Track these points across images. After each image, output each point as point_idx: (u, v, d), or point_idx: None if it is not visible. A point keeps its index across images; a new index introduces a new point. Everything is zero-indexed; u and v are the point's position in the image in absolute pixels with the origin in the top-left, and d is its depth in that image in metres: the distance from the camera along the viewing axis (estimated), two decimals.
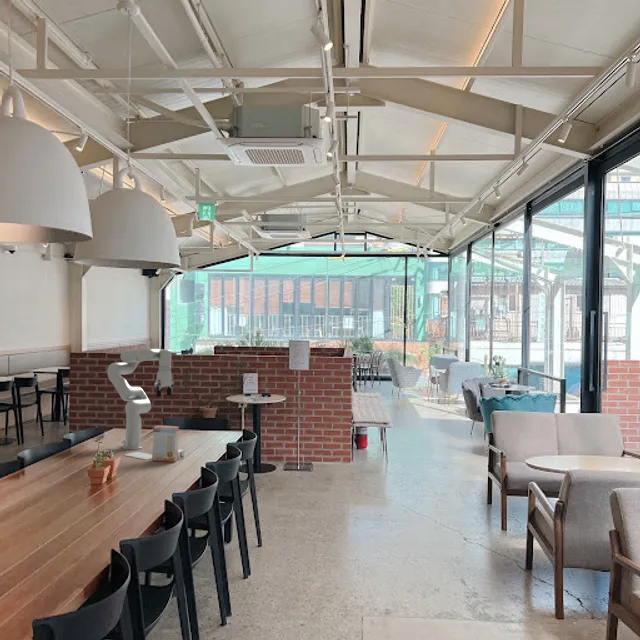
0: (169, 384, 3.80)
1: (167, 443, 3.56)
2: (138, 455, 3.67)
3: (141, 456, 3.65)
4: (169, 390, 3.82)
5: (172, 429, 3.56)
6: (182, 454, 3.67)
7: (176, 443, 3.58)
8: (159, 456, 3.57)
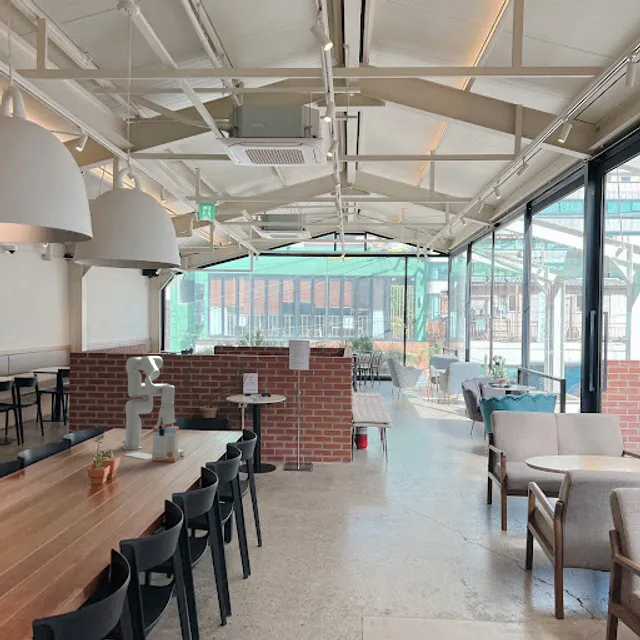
0: (172, 421, 3.61)
1: (167, 443, 3.56)
2: (138, 455, 3.67)
3: (141, 456, 3.65)
4: None
5: (172, 429, 3.56)
6: (182, 454, 3.67)
7: (176, 443, 3.58)
8: (159, 456, 3.57)
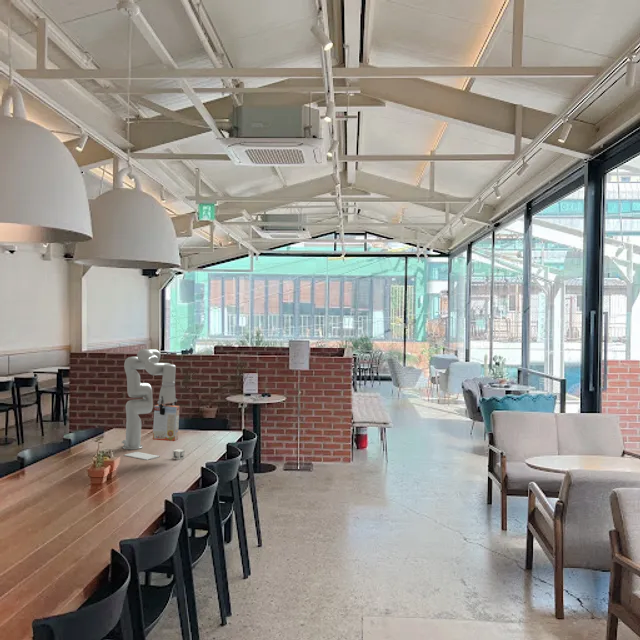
0: (173, 401, 3.61)
1: (167, 422, 3.57)
2: (138, 455, 3.67)
3: (141, 456, 3.65)
4: None
5: (173, 408, 3.57)
6: (182, 454, 3.67)
7: (177, 422, 3.59)
8: (160, 435, 3.57)
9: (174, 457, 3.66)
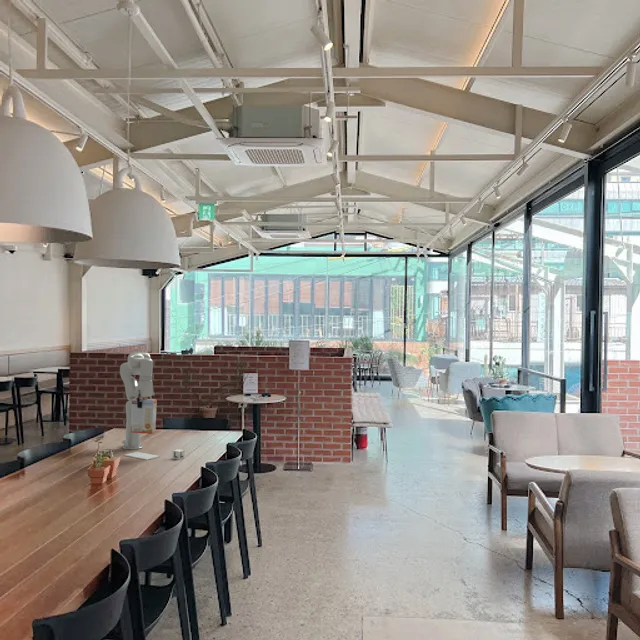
0: (150, 394, 3.69)
1: (144, 415, 3.65)
2: (138, 455, 3.67)
3: (141, 456, 3.65)
4: None
5: (150, 401, 3.65)
6: (182, 454, 3.67)
7: (154, 415, 3.67)
8: (137, 428, 3.65)
9: (174, 457, 3.66)
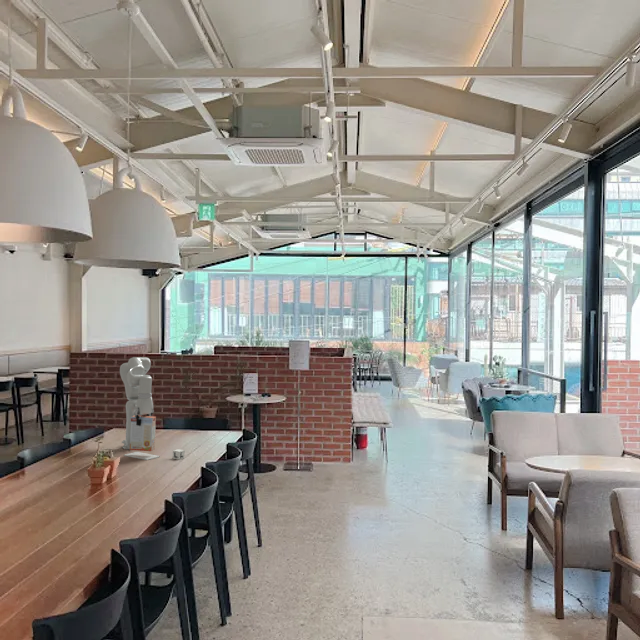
0: (149, 412, 3.69)
1: (144, 433, 3.65)
2: (138, 455, 3.67)
3: (141, 456, 3.65)
4: None
5: (149, 419, 3.65)
6: (182, 454, 3.67)
7: (153, 433, 3.67)
8: (136, 445, 3.65)
9: (174, 457, 3.66)
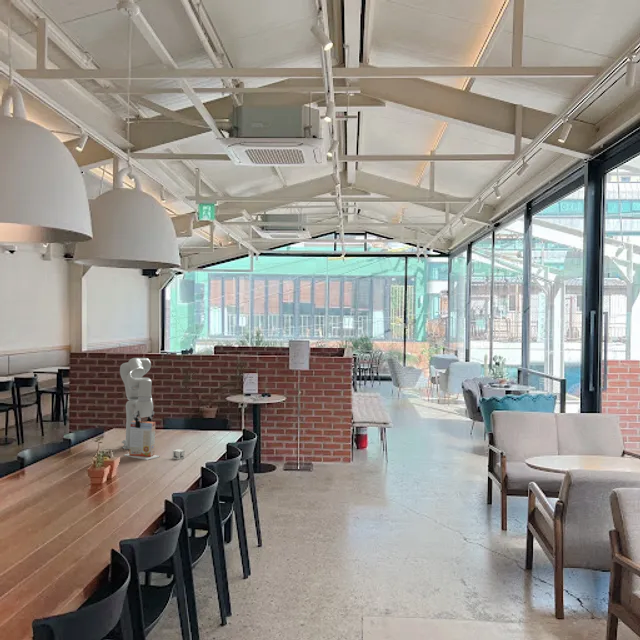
0: (149, 415, 3.69)
1: (143, 438, 3.65)
2: None
3: (141, 456, 3.65)
4: (149, 420, 3.72)
5: (148, 424, 3.65)
6: (182, 454, 3.67)
7: (152, 438, 3.67)
8: (136, 451, 3.65)
9: (174, 457, 3.66)
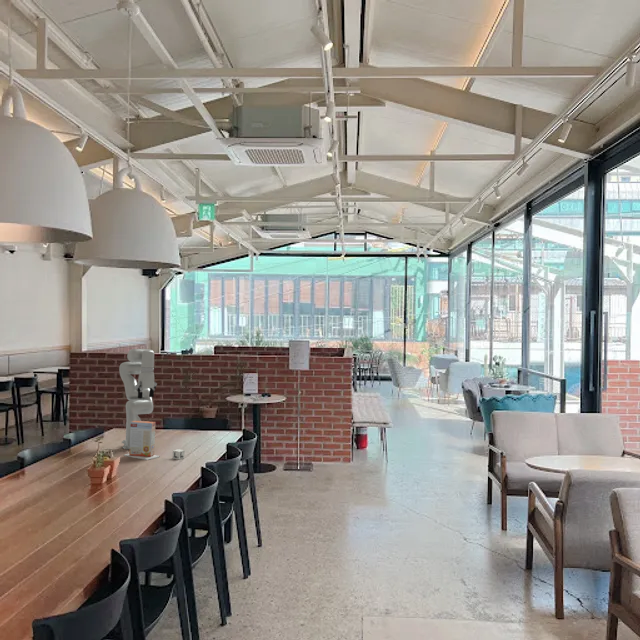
0: (151, 386, 3.70)
1: (143, 438, 3.65)
2: None
3: (141, 456, 3.65)
4: (151, 392, 3.73)
5: (148, 424, 3.65)
6: (182, 454, 3.67)
7: (152, 438, 3.67)
8: (136, 451, 3.65)
9: (174, 457, 3.66)
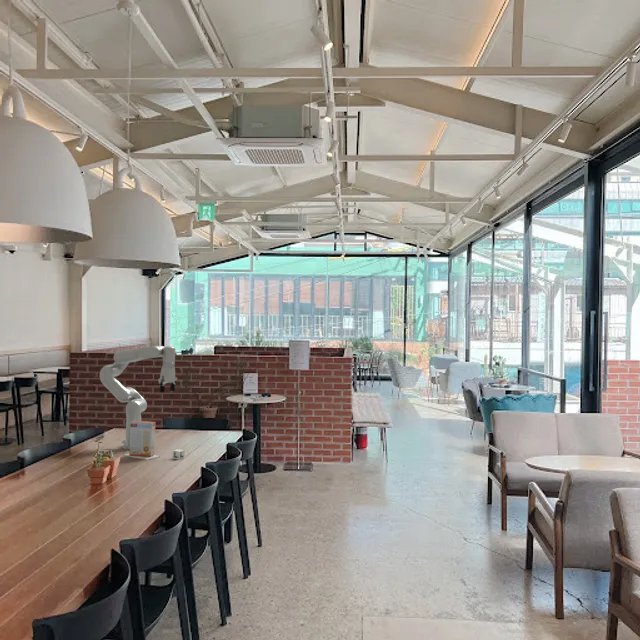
0: (173, 380, 3.90)
1: (143, 438, 3.65)
2: None
3: (141, 456, 3.65)
4: (173, 386, 3.92)
5: (148, 424, 3.65)
6: (182, 454, 3.67)
7: (152, 438, 3.67)
8: (136, 451, 3.65)
9: (174, 457, 3.66)
